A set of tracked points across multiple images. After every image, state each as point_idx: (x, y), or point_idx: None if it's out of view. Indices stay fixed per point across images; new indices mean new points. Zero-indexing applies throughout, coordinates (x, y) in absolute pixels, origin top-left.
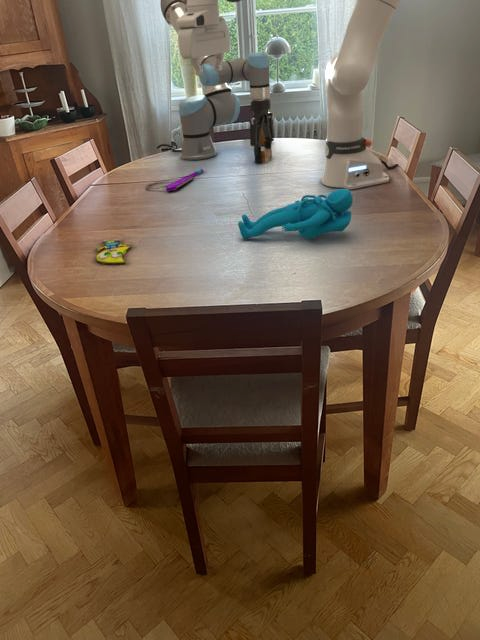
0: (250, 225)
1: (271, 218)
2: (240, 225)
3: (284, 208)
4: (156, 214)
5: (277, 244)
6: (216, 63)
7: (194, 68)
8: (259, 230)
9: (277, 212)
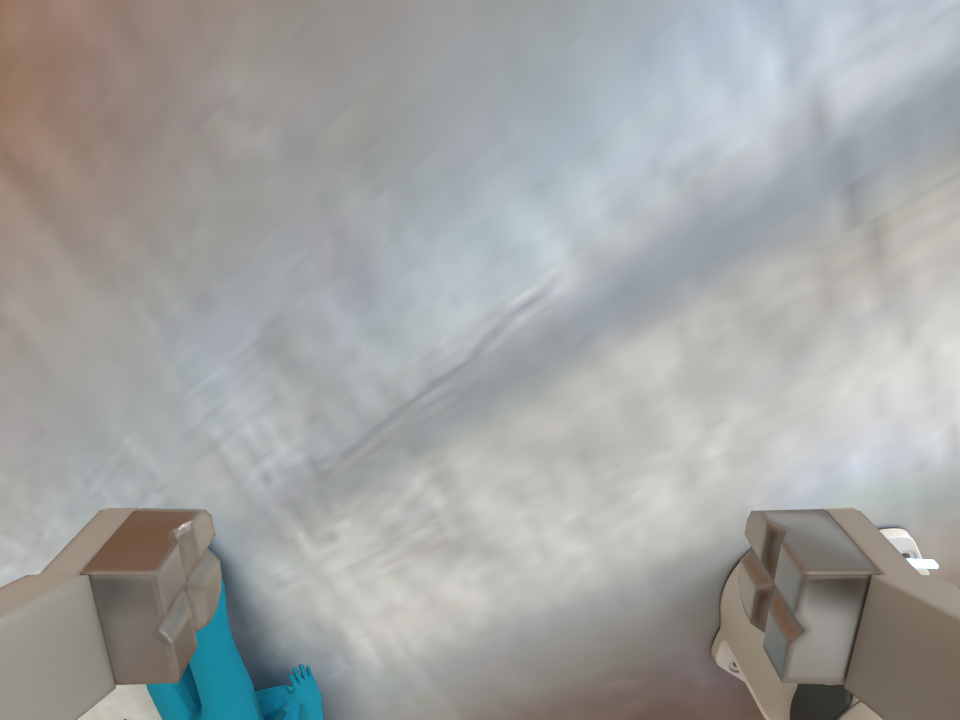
0: None
1: (146, 684)
2: None
3: (202, 712)
4: (116, 54)
5: None
6: (882, 602)
7: (20, 581)
8: None
9: (195, 682)
